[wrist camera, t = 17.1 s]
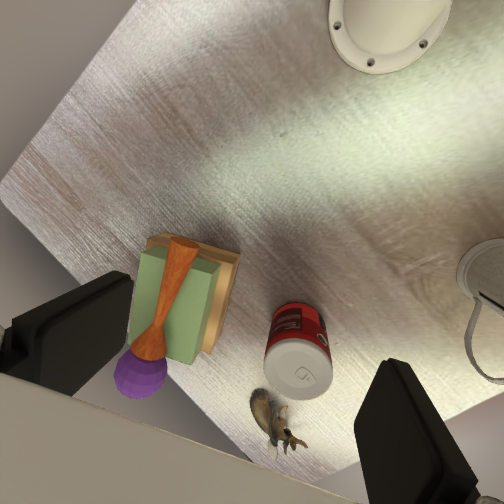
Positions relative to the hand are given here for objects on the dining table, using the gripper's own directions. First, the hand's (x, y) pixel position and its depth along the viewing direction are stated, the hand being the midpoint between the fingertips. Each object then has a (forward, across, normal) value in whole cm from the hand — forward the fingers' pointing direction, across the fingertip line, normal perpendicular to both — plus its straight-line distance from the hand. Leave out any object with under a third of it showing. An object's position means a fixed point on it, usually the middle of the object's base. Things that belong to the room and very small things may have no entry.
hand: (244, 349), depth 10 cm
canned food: (+31, -6, +14) cm, 34 cm away
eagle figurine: (+31, -7, +30) cm, 43 cm away
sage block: (+25, +11, +13) cm, 30 cm away
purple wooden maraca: (+22, +11, +13) cm, 27 cm away
